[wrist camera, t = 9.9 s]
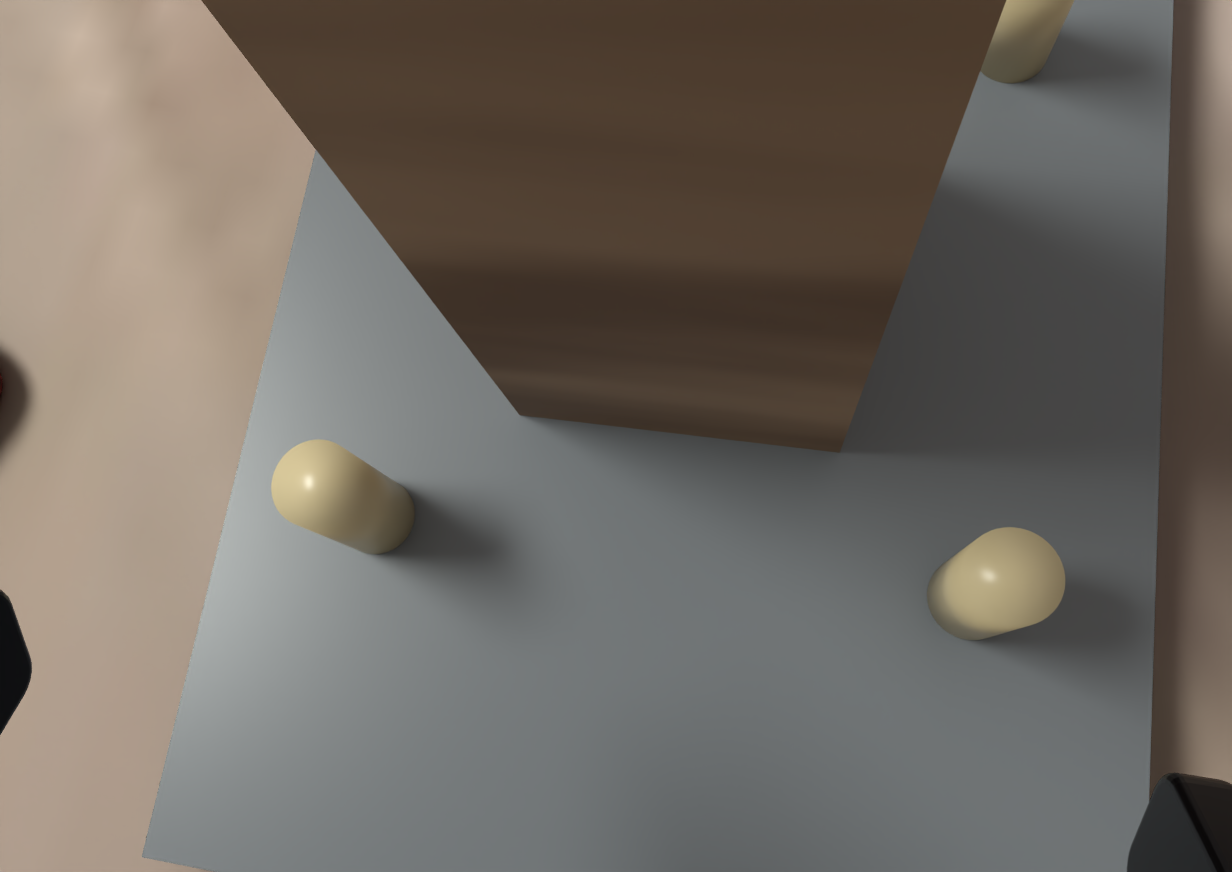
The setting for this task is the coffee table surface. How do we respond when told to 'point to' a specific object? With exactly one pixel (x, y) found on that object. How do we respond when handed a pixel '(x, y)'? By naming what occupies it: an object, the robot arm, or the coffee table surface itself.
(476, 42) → the walnut block
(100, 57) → the coffee table surface
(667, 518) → the plate
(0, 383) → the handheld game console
